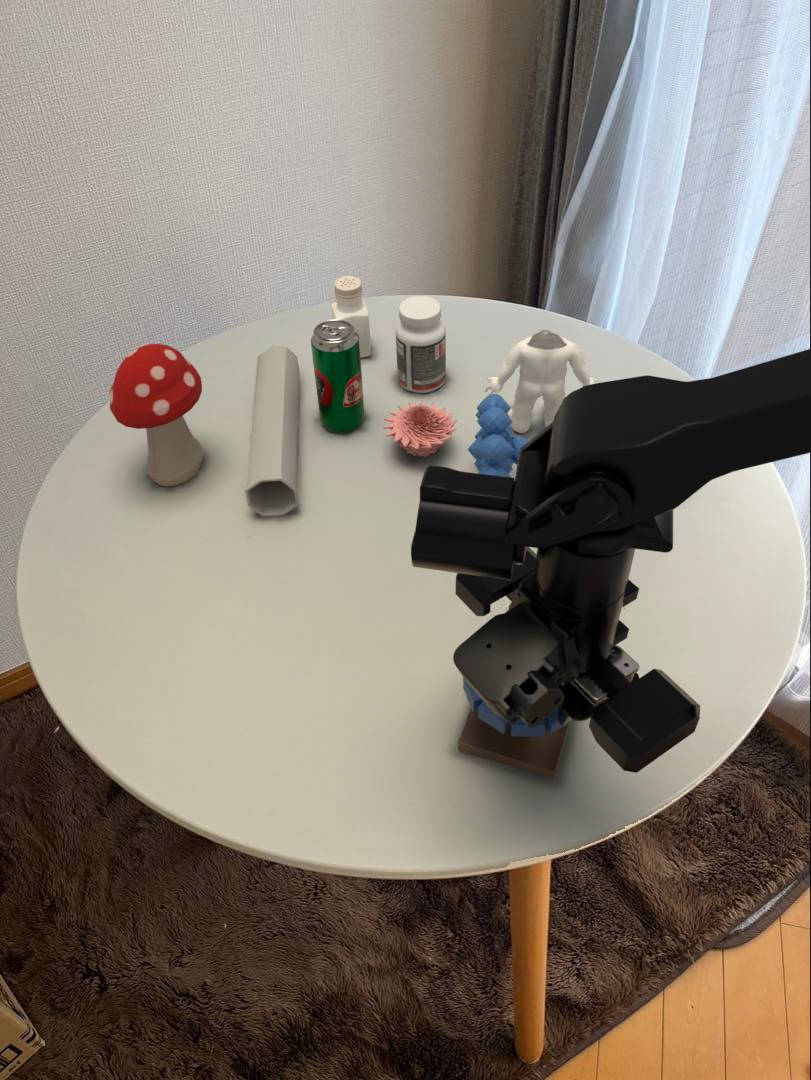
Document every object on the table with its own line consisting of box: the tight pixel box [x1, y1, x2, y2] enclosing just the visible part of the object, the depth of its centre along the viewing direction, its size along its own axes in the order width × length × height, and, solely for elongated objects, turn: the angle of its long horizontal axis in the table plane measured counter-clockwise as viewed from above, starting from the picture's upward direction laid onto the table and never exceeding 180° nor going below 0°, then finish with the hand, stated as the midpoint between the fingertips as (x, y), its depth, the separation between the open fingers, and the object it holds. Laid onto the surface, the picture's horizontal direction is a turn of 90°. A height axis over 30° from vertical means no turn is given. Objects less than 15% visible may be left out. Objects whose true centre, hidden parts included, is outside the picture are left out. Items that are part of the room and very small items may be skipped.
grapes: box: [467, 393, 530, 477], centre depth 89 cm, size 12×7×12 cm, turn 177°
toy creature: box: [484, 329, 599, 434], centre depth 96 cm, size 12×6×12 cm, turn 87°
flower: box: [382, 401, 458, 458], centre depth 96 cm, size 8×8×6 cm
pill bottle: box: [395, 295, 447, 394], centre depth 103 cm, size 6×6×10 cm
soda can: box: [310, 318, 366, 433], centre depth 98 cm, size 5×5×12 cm
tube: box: [244, 344, 300, 518], centre depth 99 cm, size 5×5×25 cm
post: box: [457, 707, 571, 780], centre depth 71 cm, size 8×8×8 cm
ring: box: [462, 676, 574, 737], centre depth 70 cm, size 9×10×2 cm
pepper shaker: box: [330, 275, 372, 359], centre depth 108 cm, size 4×4×10 cm
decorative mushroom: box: [109, 343, 204, 487], centre depth 92 cm, size 10×9×15 cm
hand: (557, 712), depth 67 cm, fingers closed on ring, 2 cm apart
